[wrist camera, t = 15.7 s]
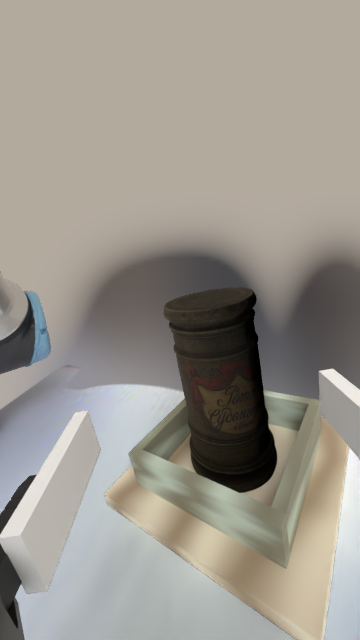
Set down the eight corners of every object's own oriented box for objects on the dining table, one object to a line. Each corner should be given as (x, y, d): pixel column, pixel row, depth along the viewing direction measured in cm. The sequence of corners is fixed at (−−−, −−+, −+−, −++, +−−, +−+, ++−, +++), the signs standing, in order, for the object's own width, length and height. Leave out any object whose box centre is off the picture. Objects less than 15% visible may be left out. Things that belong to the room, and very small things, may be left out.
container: (179, 451, 31) (145, 304, 26) (240, 419, 34) (220, 283, 29) (223, 515, 22) (185, 318, 18) (297, 464, 26) (282, 288, 21)
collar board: (107, 504, 27) (93, 462, 26) (204, 399, 42) (198, 369, 41) (321, 657, 15) (316, 594, 14) (350, 433, 30) (350, 392, 29)
